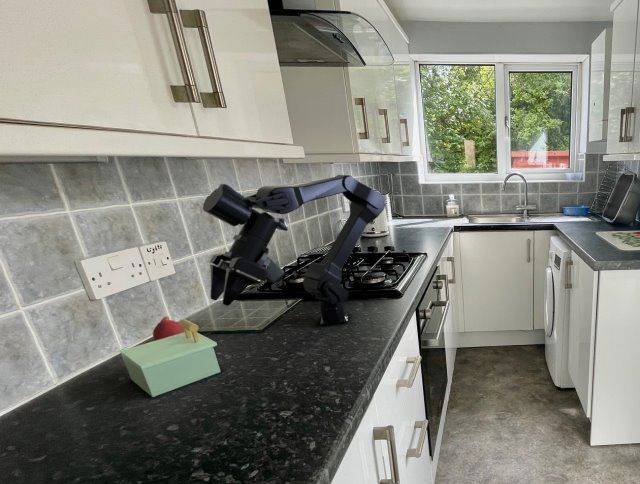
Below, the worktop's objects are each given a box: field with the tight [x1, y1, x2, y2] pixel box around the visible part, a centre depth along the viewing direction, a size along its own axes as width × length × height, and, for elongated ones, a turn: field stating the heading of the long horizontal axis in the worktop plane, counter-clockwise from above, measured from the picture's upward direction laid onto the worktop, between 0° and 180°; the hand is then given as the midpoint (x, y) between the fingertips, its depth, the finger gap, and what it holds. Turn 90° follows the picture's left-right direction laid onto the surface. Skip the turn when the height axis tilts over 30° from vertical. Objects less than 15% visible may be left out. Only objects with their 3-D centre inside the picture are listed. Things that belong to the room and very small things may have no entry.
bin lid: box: [119, 319, 218, 370], centre depth 80 cm, size 12×11×4 cm
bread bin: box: [120, 347, 221, 398], centre depth 82 cm, size 11×11×6 cm
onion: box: [152, 315, 185, 341], centre depth 93 cm, size 6×6×8 cm
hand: (219, 302), depth 86 cm, fingers open, 9 cm apart
